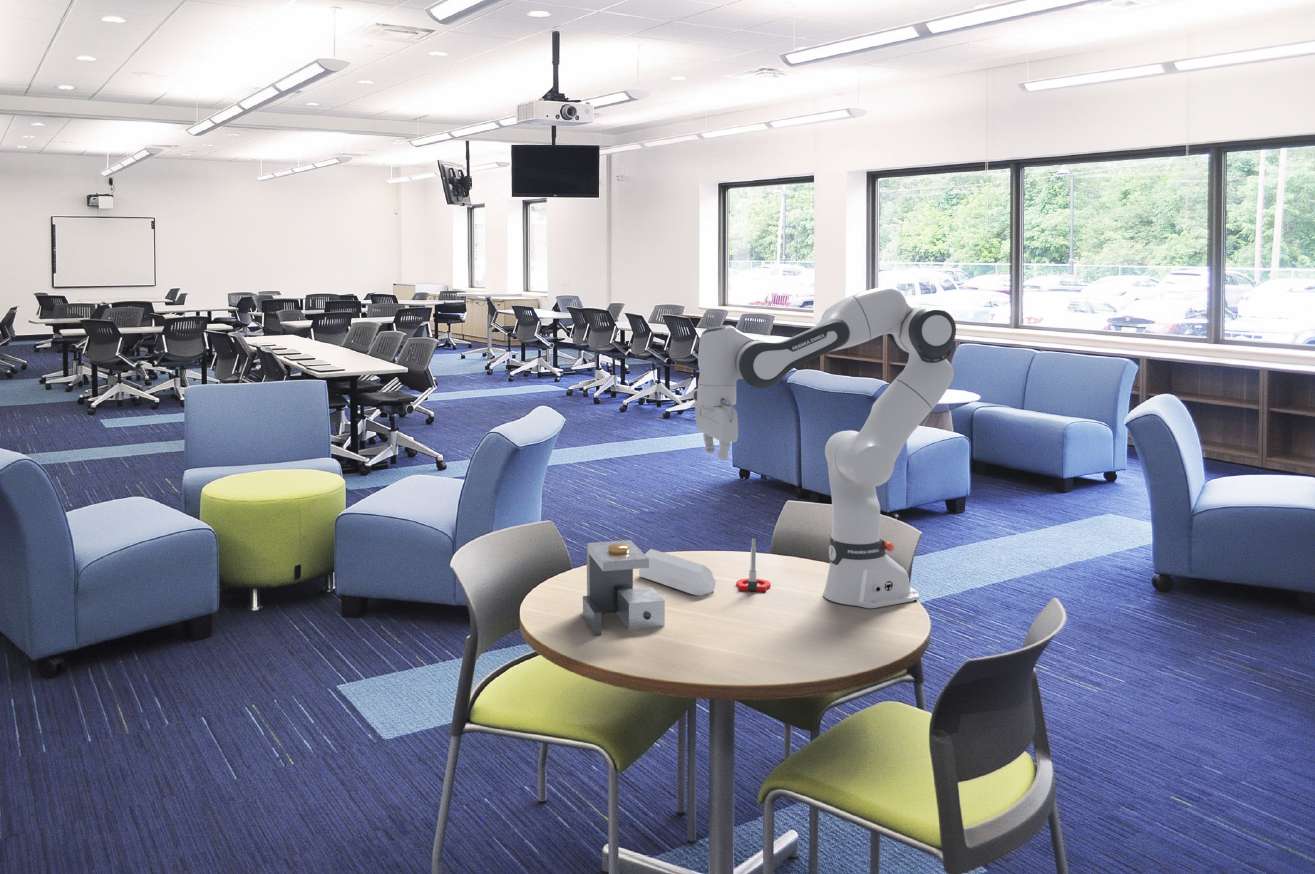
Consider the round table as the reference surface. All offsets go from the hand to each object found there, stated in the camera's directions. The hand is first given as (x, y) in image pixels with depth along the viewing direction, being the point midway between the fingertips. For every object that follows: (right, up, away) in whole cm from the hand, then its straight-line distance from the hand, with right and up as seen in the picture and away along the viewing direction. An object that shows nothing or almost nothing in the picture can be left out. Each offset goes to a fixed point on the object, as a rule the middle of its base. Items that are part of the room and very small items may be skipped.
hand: (716, 455), depth 245 cm
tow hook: (+10, -33, +14) cm, 37 cm away
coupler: (-23, -36, -11) cm, 45 cm away
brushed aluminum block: (-17, -36, -10) cm, 42 cm away
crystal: (-9, -32, +16) cm, 37 cm away
